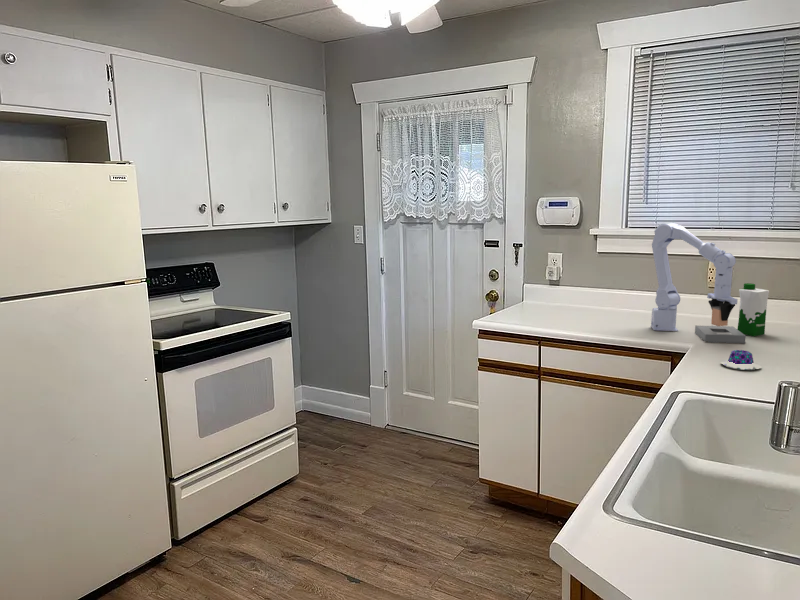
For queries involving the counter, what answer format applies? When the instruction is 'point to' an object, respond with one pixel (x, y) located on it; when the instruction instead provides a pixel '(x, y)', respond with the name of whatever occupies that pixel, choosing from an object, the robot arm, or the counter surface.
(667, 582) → the counter surface
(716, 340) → the outlet box
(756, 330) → the milk carton
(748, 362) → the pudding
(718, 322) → the tan rectangular block
